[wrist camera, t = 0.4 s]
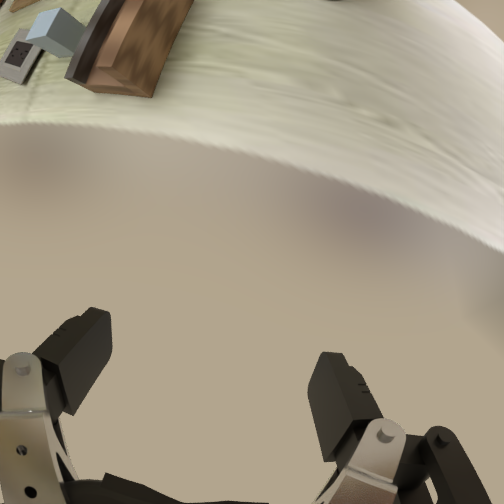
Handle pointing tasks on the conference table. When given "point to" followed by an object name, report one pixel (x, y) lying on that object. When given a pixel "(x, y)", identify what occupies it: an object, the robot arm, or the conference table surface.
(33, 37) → the cabinet block
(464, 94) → the conference table surface
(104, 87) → the board
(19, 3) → the banker's lamp
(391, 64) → the conference table surface
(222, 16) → the conference table surface
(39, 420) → the robot arm
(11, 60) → the electrical outlet
